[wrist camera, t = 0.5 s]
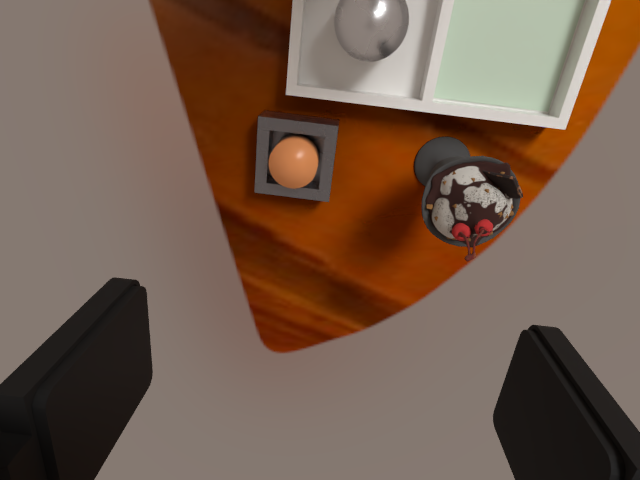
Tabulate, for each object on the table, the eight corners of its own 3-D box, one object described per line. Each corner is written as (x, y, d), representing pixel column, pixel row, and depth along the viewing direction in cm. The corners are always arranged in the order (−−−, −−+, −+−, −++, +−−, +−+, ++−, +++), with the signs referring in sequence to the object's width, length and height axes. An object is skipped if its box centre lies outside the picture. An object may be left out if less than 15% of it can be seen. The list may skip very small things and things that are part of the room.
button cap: (274, 131, 37) (270, 137, 34) (321, 137, 36) (319, 144, 34) (271, 176, 38) (267, 185, 36) (316, 182, 38) (314, 191, 36)
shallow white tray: (302, -73, 32) (298, -83, 29) (604, -37, 32) (626, -43, 29) (290, 90, 37) (285, 94, 34) (550, 123, 37) (565, 129, 34)
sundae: (405, 202, 41) (433, 285, 27) (404, 130, 38) (434, 183, 24) (477, 196, 40) (543, 279, 26) (481, 123, 37) (557, 173, 24)
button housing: (264, 110, 38) (258, 116, 35) (339, 119, 38) (338, 126, 35) (260, 182, 41) (254, 192, 38) (330, 190, 41) (328, 201, 38)
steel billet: (340, -18, 32) (339, -27, 28) (406, -10, 32) (416, -17, 28) (332, 54, 35) (330, 57, 30) (394, 61, 35) (401, 65, 30)
